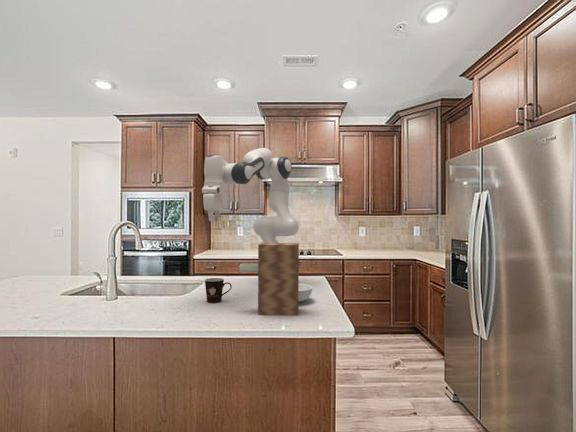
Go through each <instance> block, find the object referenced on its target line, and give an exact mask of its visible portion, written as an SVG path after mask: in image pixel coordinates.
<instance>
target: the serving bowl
mask: <svg viewBox="0 0 576 432" xmlns="http://www.w3.org/2000/svg"><path fill="white" fill-rule="evenodd" d="M312 292H313V286H311V285H310V284H307V283H302V282H300V283H299V298H298V303H300V302H303V301H306V300H307V299H309V297H310V296H311V295H312Z"/></svg>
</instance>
